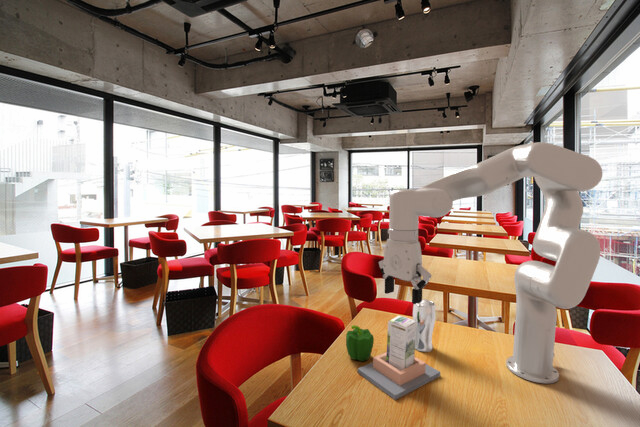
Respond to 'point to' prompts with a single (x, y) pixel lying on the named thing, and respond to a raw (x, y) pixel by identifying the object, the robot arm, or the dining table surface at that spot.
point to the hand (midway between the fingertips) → (402, 297)
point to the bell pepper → (359, 343)
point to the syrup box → (401, 342)
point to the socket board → (397, 376)
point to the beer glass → (424, 324)
